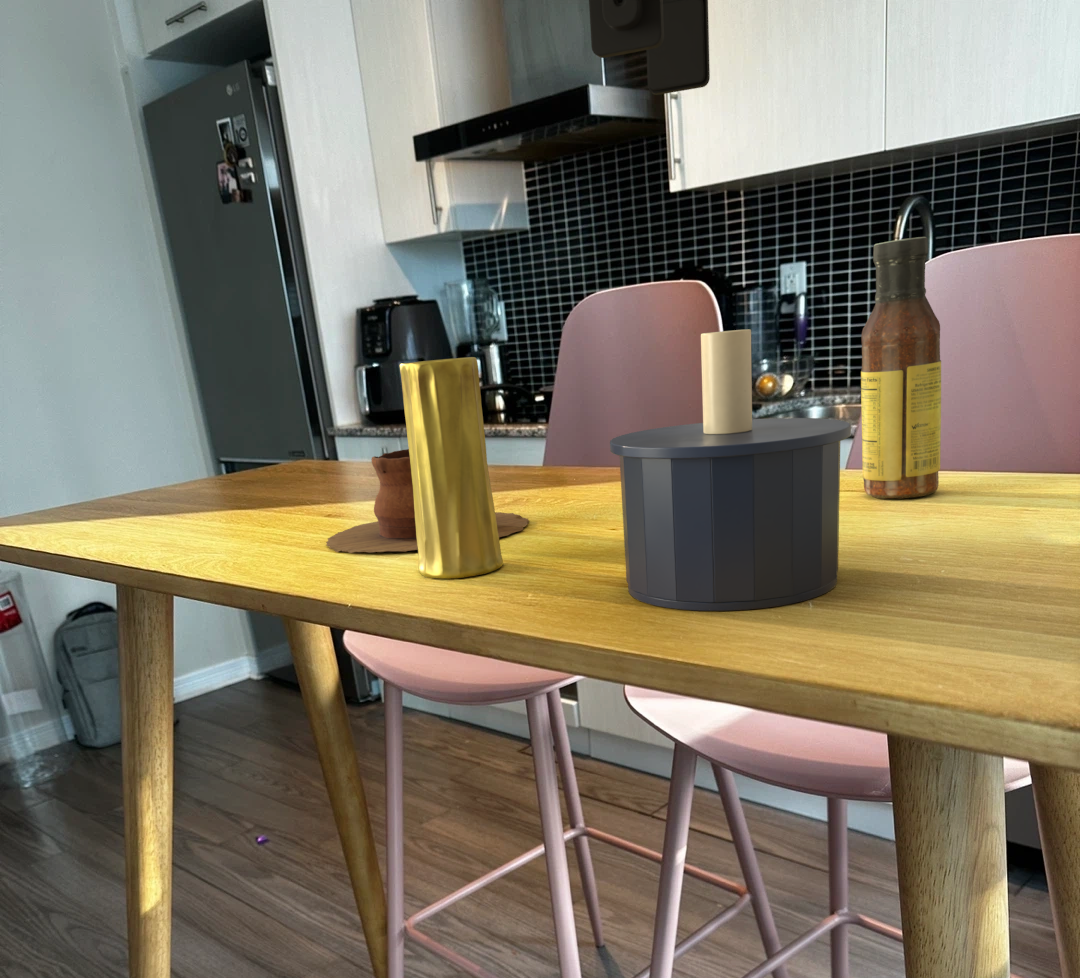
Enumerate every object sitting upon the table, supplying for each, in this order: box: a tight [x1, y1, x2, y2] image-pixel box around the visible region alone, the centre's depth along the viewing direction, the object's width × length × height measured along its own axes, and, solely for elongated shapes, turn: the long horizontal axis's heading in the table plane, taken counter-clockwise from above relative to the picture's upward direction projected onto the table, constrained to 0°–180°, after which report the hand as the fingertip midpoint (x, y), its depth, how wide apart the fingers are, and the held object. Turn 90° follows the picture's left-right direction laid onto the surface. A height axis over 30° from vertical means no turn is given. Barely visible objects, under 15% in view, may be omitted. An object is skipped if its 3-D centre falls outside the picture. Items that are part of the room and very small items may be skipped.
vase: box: [399, 356, 504, 580], centre depth 71 cm, size 6×6×14 cm
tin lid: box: [609, 328, 852, 459], centre depth 59 cm, size 14×14×7 cm
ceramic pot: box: [325, 448, 530, 554], centre depth 88 cm, size 18×18×7 cm
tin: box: [618, 441, 841, 612], centre depth 62 cm, size 13×13×8 cm
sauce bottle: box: [860, 236, 942, 500], centre depth 84 cm, size 6×6×20 cm
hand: (655, 72), depth 50 cm, fingers open, 9 cm apart
